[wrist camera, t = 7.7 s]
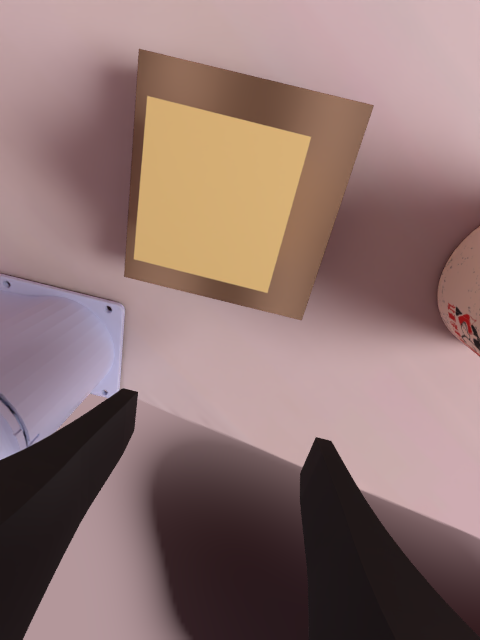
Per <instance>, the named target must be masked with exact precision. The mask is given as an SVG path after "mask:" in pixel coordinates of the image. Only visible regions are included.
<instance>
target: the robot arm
mask: <svg viewBox="0 0 480 640" xmlns="http://www.w3.org/2000/svg"><path fill="white" fill-rule="evenodd" d="M8 282H9V283H10V285H11V286H10V285H9V284H8ZM107 306H110V307H111V308H112V311H110V310H109V309H108V308H107ZM124 317H125V308H124V306H123V305H122V304H120V303H118V302H114V301H110V300H106V299H102V298H98V297H93V296H89V295H85V294H81V293H77V292H73V291H69V290H65V289H61V288H57V287H53V286H49V285H45V284H41V283H37V282H33V281H29V280H25V279H21V278H17V277H13V276H9V275H4V274H0V640H23V638H24V636H25V633H26V631H27V629H28V627H29V625H30V623H31V620H32V619H33V616H34V614H35V612H36V610H37V608H38V606H39V604H40V602H41V600H42V598H43V596H44V594H45V592H46V590H47V587H48V585H49V583H50V581H51V579H52V577H53V575H54V573H55V571H56V569H57V567H58V565H59V563H60V561H61V559H62V557H63V555H64V553H65V551H66V549H67V548H68V545H69V544H70V542H71V540H72V538H73V536H74V534H75V532H76V530H77V528H78V526H79V524H80V522H81V521H82V519H83V517H84V516H85V514H86V512H87V510H88V509H89V507H90V506H91V504H92V502H93V501H94V499H95V498H96V496H97V495H98V493H99V491H100V490H101V488H102V487H103V485H104V484H105V482H106V480H107V479H108V477H109V476H110V474H111V472H112V471H113V469H114V468H115V466H116V464H117V463H118V461H119V460H120V458H121V456H122V455H123V453H124V451H125V449H126V446H127V445H128V442H129V440H130V438H131V436H132V434H133V432H134V427H135V416H136V407H137V397H138V392H136V391H132V390H128V389H124V388H123V389H121V390H119V389H120V375H121V360H122V346H123V332H124ZM105 390H106V391H107V392H106V391H105ZM89 394H94V395H98V396H102V397H106V398H108V399H106V400H105V401H104V402H102V403H101V404H99V405H98V406H96V407H95V408H93V409H92V410H90V411H89V412H87V413H86V414H84V415H83V416H81V417H80V418H78V419H76V420H75V421H73V422H72V423H70V424H68V425H67V426H65V427H63V428H62V429H60V430H58V431H56V430H57V429H58V428H59V427H60V426H61V425H62V424H63V423H64V422H65V420H66V419H67V418H68V417H69V416H70V414H72V413H73V411H74V410H75V409H76V408H77V407H78V406H79V405H80V404H81V403H82V401H83V400H84V399H85V398H86V397H87V396H88V395H89ZM300 505H301V515H302V525H303V534H304V544H305V553H306V563H307V575H308V604H309V605H308V606H309V607H308V608H309V640H480V637H479V636H478V635H477V634H476V633H475V632H474V631H473V630H472V629H471V628H470V627H469V626H468V625H467V624H466V623H465V622H464V621H463V620H462V619H461V618H460V617H459V616H458V615H457V613H456V612H455V611H454V610H453V609H452V608H451V607H450V606H449V605H448V604H447V603H446V602H445V601H444V600H443V599H442V597H441V596H440V595H439V594H438V593H437V592H436V591H435V590H434V589H433V588H432V586H431V585H430V584H429V583H428V582H427V580H426V579H425V578H424V577H423V576H422V575H421V573H420V572H419V571H418V570H417V569H416V568H415V566H414V565H413V564H412V563H411V562H410V561H409V559H408V558H407V557H406V555H405V554H404V553H403V552H402V550H401V549H400V548H399V546H398V545H397V544H396V542H395V541H394V540H393V538H392V537H391V536H390V535H389V533H388V532H387V531H386V529H385V528H384V526H383V525H382V524H381V522H380V521H379V519H378V518H377V516H376V515H375V513H374V512H373V510H372V509H371V507H370V506H369V504H368V503H367V501H366V500H365V498H364V497H363V495H362V493H361V492H360V490H359V488H358V487H357V485H356V483H355V482H354V480H353V478H352V477H351V475H350V473H349V471H348V470H347V468H346V466H345V464H344V463H343V461H342V459H341V457H340V456H339V454H338V452H337V450H336V449H335V447H334V445H333V443H332V442H331V441H329V440H325V439H321V438H317V437H316V438H315V441H314V443H313V445H312V447H311V450H310V452H309V454H308V457H307V459H306V461H305V463H304V466H303V468H302V470H301V473H300Z"/></svg>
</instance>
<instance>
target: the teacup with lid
mask: <svg viewBox="0 0 480 640" xmlns="http://www.w3.org/2000/svg"><path fill="white" fill-rule="evenodd" d="M437 299H438V308H439V312H440V315H441V318H442V320H443V322H444V324H445V325H446V327H447V328H448V329H449V330H450V332H451V333H452V334H453V335H454V336H455V337H457V338H458V339H459V340H460V341H461V342H463V343H464V344H465V345H466V346H467V347H469V348H470V349H471V350H472V351H473V352H475V353H476V354H477V355H478V356H480V226H479V227H478V228H477V229H475V230H474V231H473V232H472V233H471V234H470V235H468V236H467V237H466V238H465V239H464V240H463V241H462V242H461V243H460V245H459V246H458V247H457V248H456V249H455V251H454V252H453V254H452V255H451V256H450V258H449V260H448V262H447V263H446V265H445V267H444V270H443V272H442V275H441V277H440V281H439V286H438V296H437Z"/></svg>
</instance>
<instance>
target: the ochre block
mask: <svg viewBox="0 0 480 640" xmlns="http://www.w3.org/2000/svg"><path fill="white" fill-rule="evenodd" d="M310 140H311V137H309V136H305V135H301V134H297V133H293V132H289V131H285V130H281V129H277V128H273V127H270V126H266V125H262V124H258V123H254V122H250V121H246V120H242V119H238V118H234V117H230V116H226V115H222V114H218V113H214V112H210V111H206V110H202V109H198V108H194V107H190V106H186V105H182V104H178V103H174V102H170V101H166V100H162V99H158V98H154V97H150V96H147V106H146V118H145V130H144V142H143V154H142V166H141V178H140V190H139V202H138V213H137V225H136V237H135V249H134V259H135V260H139V261H143V262H147V263H151V264H155V265H159V266H163V267H167V268H171V269H175V270H178V271H182V272H186V273H190V274H194V275H198V276H202V277H206V278H210V279H214V280H218V281H222V282H226V283H230V284H234V285H238V286H242V287H246V288H250V289H254V290H258V291H262V292H265V293H268V289H269V286H270V282H271V279H272V275H273V271H274V268H275V264H276V261H277V257H278V254H279V250H280V247H281V243H282V239H283V236H284V232H285V229H286V225H287V222H288V218H289V215H290V211H291V207H292V204H293V200H294V197H295V193H296V190H297V186H298V183H299V179H300V175H301V172H302V168H303V165H304V161H305V158H306V154H307V151H308V147H309V143H310Z"/></svg>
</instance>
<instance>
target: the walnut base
mask: <svg viewBox="0 0 480 640" xmlns="http://www.w3.org/2000/svg"><path fill="white" fill-rule="evenodd" d="M147 96H150V97H154V98H158V99H162V100H166V101H170V102H174V103H178V104H182V105H186V106H190V107H194V108H198V109H202V110H206V111H210V112H214V113H218V114H222V115H226V116H230V117H234V118H238V119H242V120H246V121H250V122H254V123H258V124H262V125H266V126H270V127H273V128H277V129H281V130H285V131H289V132H293V133H297V134H301V135H305V136H309V137H311V140H310V143H309V147H308V151H307V154H306V158H305V161H304V165H303V168H302V172H301V175H300V179H299V183H298V186H297V190H296V193H295V197H294V200H293V204H292V207H291V211H290V215H289V218H288V222H287V225H286V229H285V232H284V236H283V239H282V243H281V247H280V250H279V254H278V257H277V261H276V264H275V268H274V271H273V275H272V279H271V282H270V286H269V289H268V293H265V292H262V291H258V290H254V289H250V288H246V287H242V286H238V285H234V284H230V283H226V282H222V281H218V280H214V279H210V278H206V277H202V276H198V275H194V274H190V273H186V272H182V271H178V270H175V269H171V268H167V267H163V266H159V265H155V264H151V263H147V262H143V261H139V260H135V259H134V249H135V237H136V225H137V213H138V202H139V190H140V178H141V166H142V154H143V142H144V130H145V118H146V106H147ZM373 106H374V105H370V104H366V103H362V102H358V101H354V100H349V99H345V98H341V97H337V96H333V95H329V94H324V93H320V92H316V91H312V90H308V89H304V88H300V87H295V86H291V85H287V84H283V83H279V82H275V81H271V80H266V79H262V78H258V77H254V76H250V75H246V74H241V73H237V72H233V71H229V70H225V69H221V68H217V67H212V66H208V65H204V64H200V63H196V62H192V61H188V60H183V59H179V58H175V57H171V56H167V55H163V54H158V53H154V52H150V51H146V50H142V49H139V56H138V71H137V87H136V102H135V118H134V133H133V148H132V164H131V179H130V194H129V210H128V225H127V241H126V256H125V271H124V277H128V278H132V279H136V280H140V281H144V282H148V283H152V284H156V285H160V286H164V287H168V288H172V289H177V290H181V291H185V292H189V293H193V294H197V295H201V296H205V297H209V298H213V299H217V300H221V301H225V302H229V303H233V304H237V305H241V306H246V307H250V308H254V309H258V310H262V311H266V312H270V313H274V314H278V315H282V316H286V317H290V318H294V319H298V320H302V318H303V315H304V312H305V309H306V306H307V303H308V300H309V297H310V294H311V291H312V288H313V285H314V282H315V279H316V276H317V273H318V270H319V267H320V264H321V261H322V258H323V255H324V252H325V249H326V246H327V243H328V240H329V237H330V234H331V231H332V228H333V225H334V222H335V219H336V216H337V214H338V211H339V208H340V205H341V202H342V199H343V196H344V193H345V190H346V187H347V184H348V181H349V178H350V175H351V172H352V169H353V166H354V163H355V160H356V157H357V154H358V151H359V148H360V145H361V142H362V139H363V136H364V133H365V130H366V127H367V124H368V121H369V118H370V115H371V112H372V109H373Z"/></svg>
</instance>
